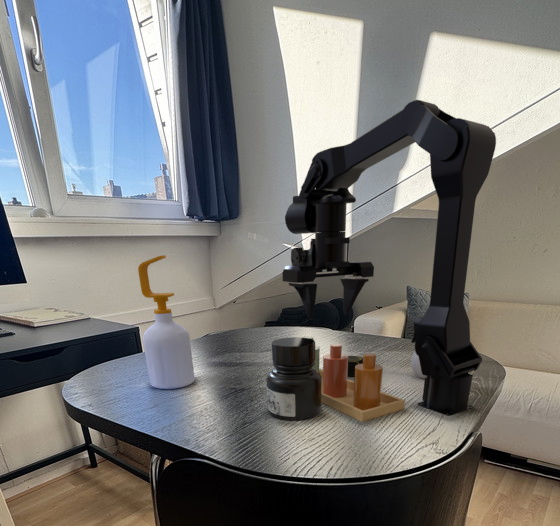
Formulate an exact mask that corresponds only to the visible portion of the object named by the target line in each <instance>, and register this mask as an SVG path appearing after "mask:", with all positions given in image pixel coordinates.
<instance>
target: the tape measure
mask: <svg viewBox="0 0 560 526" xmlns="http://www.w3.org/2000/svg"><path fill="white" fill-rule="evenodd" d="M347 356H348V376H347V377H355V366H356V365H358V364H363V356H359V355H358V356H357V355H347Z"/></svg>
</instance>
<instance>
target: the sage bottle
mask: <svg viewBox="0 0 560 526" xmlns="http://www.w3.org/2000/svg"><path fill="white" fill-rule="evenodd" d="M302 338H310V339H313V340H314V336H310V335H309V336H303V337H302ZM320 349H321V348H320V346H317V345H315V365H314V366H313V367H314V368H315V369H316V370H317V371H318V372H319V369H320V358H321V357H320V354H321V353H320Z"/></svg>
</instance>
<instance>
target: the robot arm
mask: <svg viewBox="0 0 560 526" xmlns="http://www.w3.org/2000/svg"><path fill="white" fill-rule="evenodd" d="M413 144H416V146H418V147H419V148H421V149H422V150H423V151H425V152H427V153H428V154H429V162H430V178H431V181H432V184H433V187H434V189H435V192H436V196H437V199H438V207H437V221H436V231H435V242H434V254H433V264H432V274H431V275H432V276H431V285H430V286H431V287H430V298H429V305H428V308H427V309H426V311H425V313H424V314H421V315H417V316H415V317H414V320H413V337H412V339H411V344H414V352H416V355H418V356H419V361H420V366H421V371H422V374H423V375H426V376H427V377H426V378H425V379H424V383H423V390H422V391H423V392H422V398H421V399H422V401H420V402H417V404H416V405H417V406H419V407H421V408H424V409H428V410H430V411H433V412H435V413H437V414H440V415H442V416H443V415H444V416H446V417H451V416H454V415H457V414H459V413H462V412H465V411H468V410H471V409H473V408H474V406H473V405H471V404H469V399H470V395H471V388H472V382H473V376H474V374H471V373H470V372H476V371H478V369H479V367H480V365H481V364H482V363H483V357H482V356H481V354H480V353H479V351H478V350H477V349H476V347H475V346H474V344H473V343H472V341H471V331H470V330H471V329H470V328H471V325H470V319H469V316H468V313H467V311H466V307H465V304H464V300H465V291H466V282H467V275H468V274H467V273H468V267H469V257H470V250H471V242H472V233H473V224H474V218H475V217H474V215H475V208H476V200H477V197H478V196H479V195H478V194H479V193H480V192H481V191H480V190H482V187H483V185H484V184H485V182H486V180H487V178H488V176H489V173H490V170H491V166H492V162H493V159H494V155H495V151H496V147H497V136H496V133H495V132H494V131H493V130H492V128H491V127H490V126H489V125H486V124H483V123H479V122H476V121H471V120H468V119H464V118H461V117H455V116H453V115H451V114H449V113H447V112H446V111H444V110H442V109H441V108H440V107H438V105H436V104H435V103H432V102H428V101H424V100H421V99H415V100H412V101H410V102H408V103H406V105H405V106H404V108H403V109H401V110H399V111H398V112H396V113H395V114H393V115H392V116H390V117H389V118H387V119H386V120H383V121H382V122H381V123H380V124H378V125H376V126H374V127H373V128H371V129H369V131H367V132H366V133H364V134H362V135H360V136H359V137H357V138H356V139H354V140H352V141H351V142H350V143H347V144H344V145H337V146H332V147H329V148H326V149H323V150H320V151H318V152H317V153H315V155H314V156H313V157H312V158H311V163H310V166H309V168H308V171H307V173H306V176H305V178H304V181H303V183H302V185H301V187H300V191H299V194H298V195H293V196H292V203H291V204H290V205H289V206H288V208H287V209H286V213H285V215H284V222H285V225H286V228H287V230H288V231H289V232H290V233H292V234H293V235H305V234H314V238H310V242H309V243H310V244H309V248H308V249H303V247H293V248H292V249H291V250H290V261H291V265H285V266H284V268H283V270H282V273H281V274H282V282H285V283H286V282H287V283H288V286H289V287H293V288H294V289H295V290H296V292H297V293H298V295H299V298H300V299H301V302H302V305H303V308H304V311H305V315H306V317H307V319H308V320H313V319H314V315H315V309H316V298H317V289H318V283H316V282H315V283H314V281H315V279H316V278H328V277H329V278H330V277H339V276H340V277H341V278H339V280H340V282H341V284H342V287H343V293H342V294H343V296H342V297H343V298H342V299H343V300H342V309H343V315H346V316H347V315H349V314H350V312H351V310H352V308H353V306H354V304H355V302H356V300H357V298H358V297H359V294H360V292H361V290H363V288H364V286H365V284H366V283H368V282H369V281H370V279H369V278H374V275H375V266H374V265H373V262H372V261H349V260H346V259H345V257H346V244H350V242H351V241H350V240H351V237H349V236H348V237H346V235H347V234H346V230H347V229H346V228H347V227H346V226H347V204H355V203H356V201H357V198H356V197H355V196H354V195H353V194H352V193H351V192H350V190H349V188H350V187H352V186H353V184H355V183H356V182H357V181H359V179H360V177H361V175H362V173H364V172H365V171H366V170H368V169H369V168H371V167H373V166H375V165H376V164H379V163H380V162H382V161H384V160H386V159H388V158H389V157H391V156H393V155H395V154H397V153H399V152H400V151H402V150H404V149H406V148H407V147H410V146H412V145H413ZM342 276H343V277H342Z"/></svg>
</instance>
